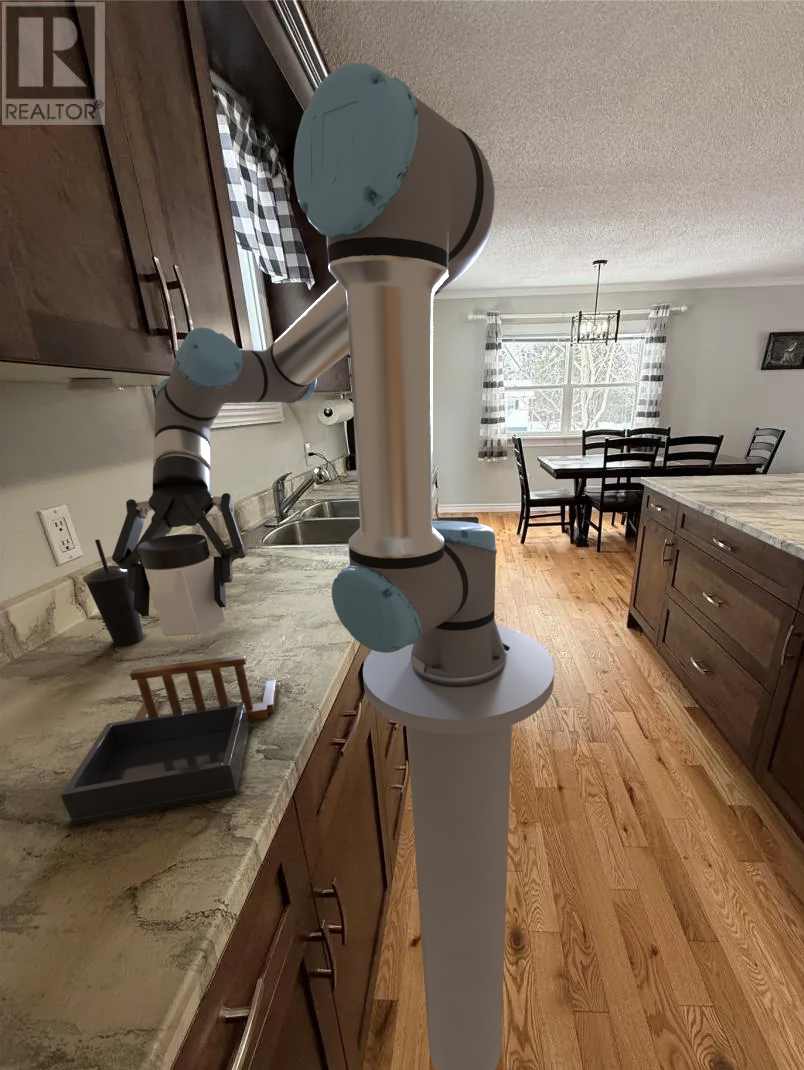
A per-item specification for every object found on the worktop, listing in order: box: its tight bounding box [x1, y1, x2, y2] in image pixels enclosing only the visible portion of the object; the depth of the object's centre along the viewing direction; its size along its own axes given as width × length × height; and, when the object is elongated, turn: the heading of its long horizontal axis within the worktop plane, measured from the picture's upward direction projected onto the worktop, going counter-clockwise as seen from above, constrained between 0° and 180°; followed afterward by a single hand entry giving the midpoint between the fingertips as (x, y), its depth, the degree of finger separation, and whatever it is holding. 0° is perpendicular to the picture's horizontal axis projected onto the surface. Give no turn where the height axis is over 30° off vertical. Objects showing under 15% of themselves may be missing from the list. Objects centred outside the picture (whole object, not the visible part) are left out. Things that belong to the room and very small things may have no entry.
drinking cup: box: [82, 539, 144, 647], centre depth 89 cm, size 8×8×20 cm
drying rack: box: [129, 654, 278, 722], centre depth 69 cm, size 18×8×10 cm, turn 104°
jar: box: [138, 533, 227, 637], centre depth 66 cm, size 9×8×12 cm
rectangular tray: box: [60, 702, 251, 826], centre depth 59 cm, size 17×13×4 cm
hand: (181, 607), depth 64 cm, fingers closed on jar, 9 cm apart
